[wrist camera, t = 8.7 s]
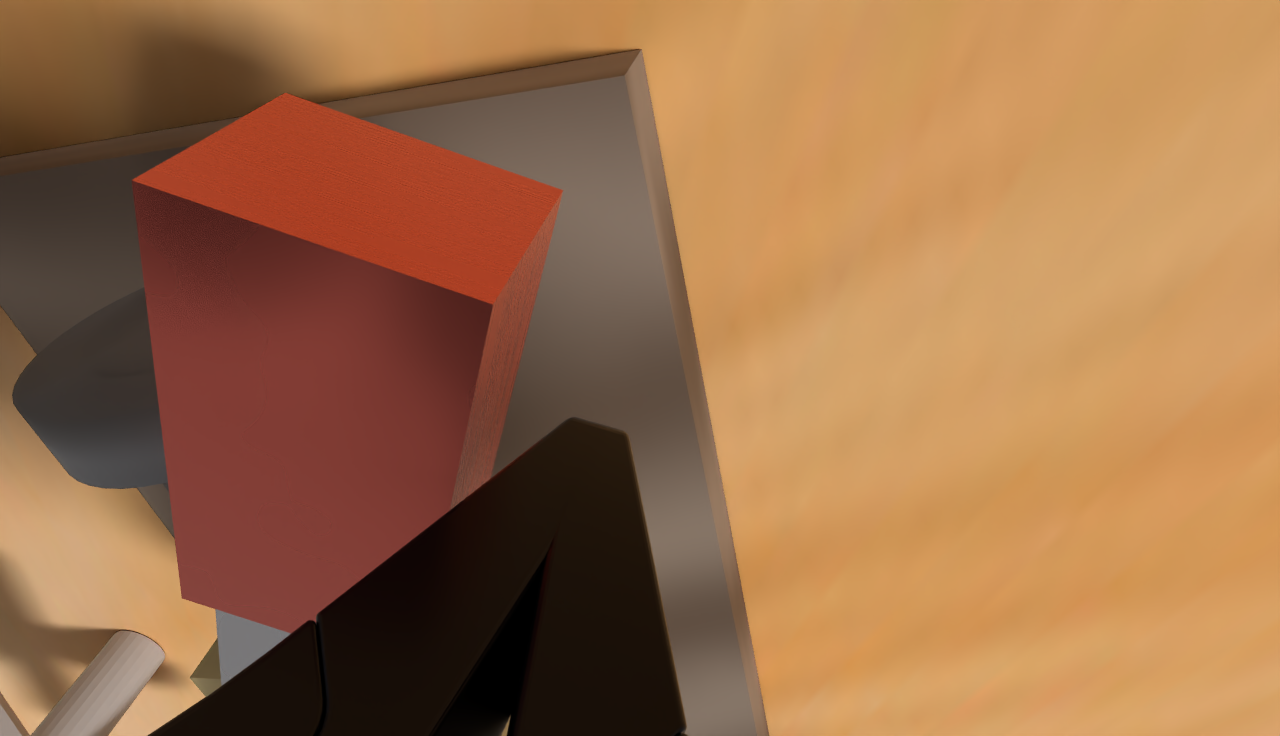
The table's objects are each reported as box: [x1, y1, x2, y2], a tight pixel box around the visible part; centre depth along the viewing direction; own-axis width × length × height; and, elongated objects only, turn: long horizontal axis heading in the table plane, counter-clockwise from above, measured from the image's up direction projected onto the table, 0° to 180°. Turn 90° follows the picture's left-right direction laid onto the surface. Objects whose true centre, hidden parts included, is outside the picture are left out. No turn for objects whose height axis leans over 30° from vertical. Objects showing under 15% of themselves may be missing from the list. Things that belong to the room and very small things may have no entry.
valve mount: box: [0, 49, 769, 736], centre depth 18 cm, size 24×14×6 cm, turn 11°
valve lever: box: [131, 93, 563, 686], centre depth 11 cm, size 15×3×2 cm, turn 164°
